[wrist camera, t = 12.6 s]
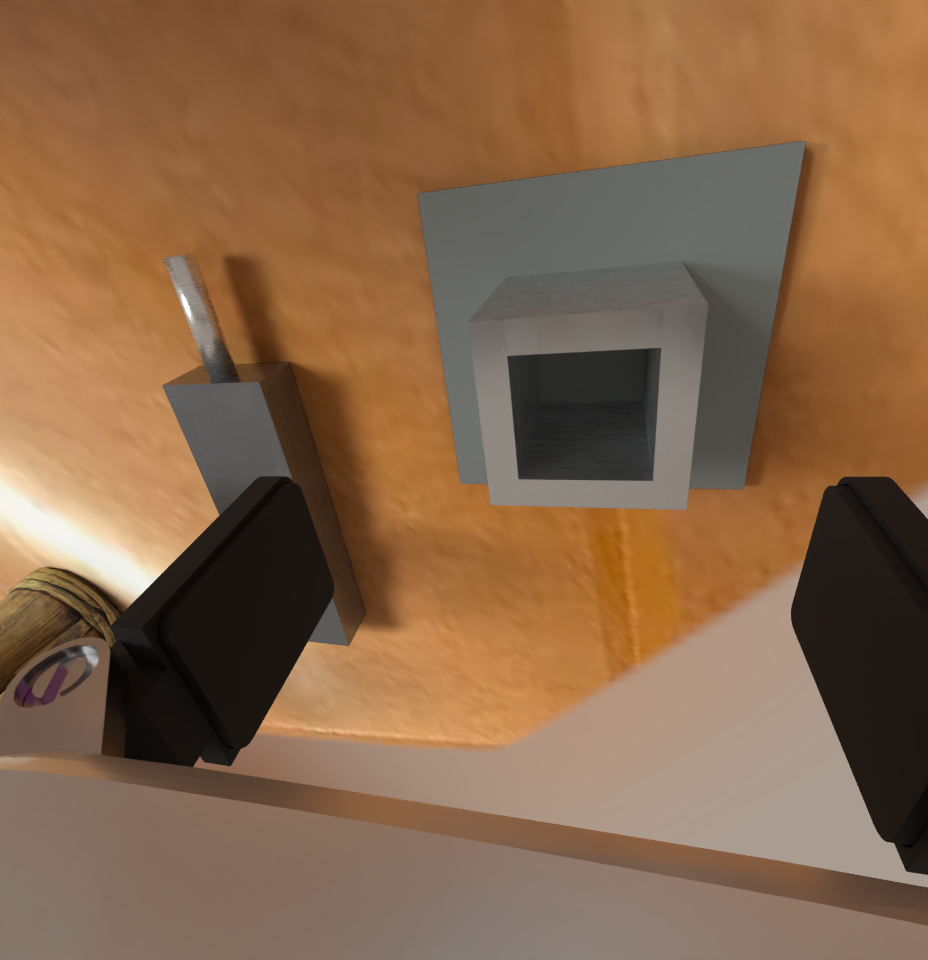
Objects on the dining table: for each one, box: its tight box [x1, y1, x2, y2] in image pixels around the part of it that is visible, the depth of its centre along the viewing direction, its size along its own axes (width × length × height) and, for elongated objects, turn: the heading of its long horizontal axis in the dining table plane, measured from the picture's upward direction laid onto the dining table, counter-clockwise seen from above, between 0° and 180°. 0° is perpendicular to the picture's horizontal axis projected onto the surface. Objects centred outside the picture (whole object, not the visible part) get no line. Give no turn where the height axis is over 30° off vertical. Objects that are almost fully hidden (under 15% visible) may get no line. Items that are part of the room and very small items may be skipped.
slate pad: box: [418, 141, 806, 490], centre depth 20 cm, size 12×12×1 cm
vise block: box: [162, 253, 366, 646], centre depth 22 cm, size 21×5×12 cm, turn 7°
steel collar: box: [468, 261, 708, 510], centre depth 17 cm, size 6×6×6 cm
